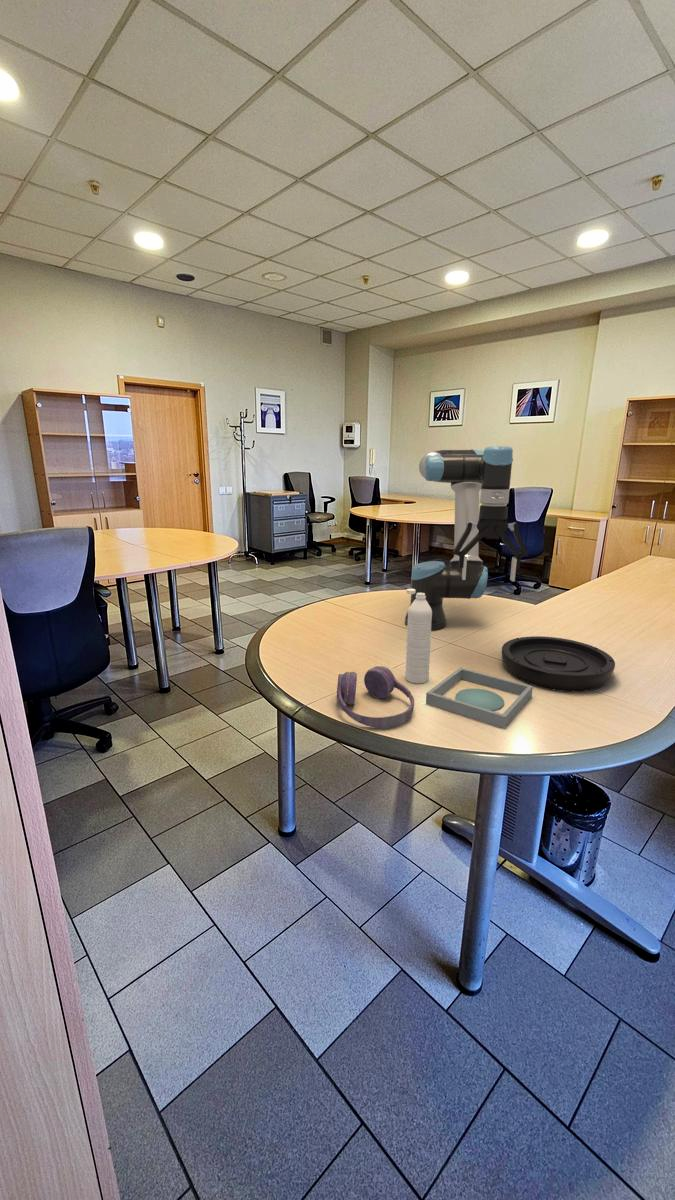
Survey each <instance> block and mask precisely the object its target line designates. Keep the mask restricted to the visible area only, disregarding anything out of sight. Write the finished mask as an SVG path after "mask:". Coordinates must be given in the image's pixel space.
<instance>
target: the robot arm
mask: <svg viewBox="0 0 675 1200" xmlns="http://www.w3.org/2000/svg"><path fill="white" fill-rule="evenodd" d="M513 451H514V450H513V447H512V446H504V445H503V446H501V445H499V446H486V447H485V448H484V450H482V449H474V448H472V449H440V450H435V451H432V452H429V453H427V454H425V455H423V457H422V458H421V459H420V461H419V464H418V466H419V467H418V468H419V472H420V475H421V476H422V477H423V478H424V479H425V481H427V482H435V483H446V484H447V483H449V484H450V490H452V491H453V492H454V496H455V497H454V534H453V537H454V539H453V540H454V542H453V543H454V544H453V545H454V548H453V549H452V550H453V557H452V558H451V559H450V561H449V565H446V564H445V562H444V561H441V560H439V561H438V560H432V561H431V560H430V561H423V562H420V563H417V564H415V565H414V566H413V567H412V570H411V577H410V580H411V585H410V587H411V588H410V589H415V590H416V593H415V594H410V603H409V607H410V605H411V604H412V603H413V602H414V600H415V599H416V597H415V596H416V594H417V593H425V596H426V597H425V599H426V601H427V602H428V604H429V606H430V607H431V609H432V619H431V620H432V622H431V631H439V630H442V629H444V628H445V627H446V626H447V618H446V614H445V610H444V607H443V602H444V601H443V600H444V599H467V600H470V599H479V598H480V599H481V598H482V597H483V595H484V594H485V591H486V587H487V584H488V583H487V582H488V576H489V573H488V572H489V571H488V569H489V568H488V567H487V566H485V565H483V563H484V561H483V560H482V559H481V558H480V556H479V549H480V547H479V546H480V545H479V542H480V541H481V540H482V539H483V538H484V539H487V540H490V539H494V540H498V539H499V538H501V540H502V541H503V542H504V544H505V545H506V546H507V547H508V549H509V550H510V551H511V553H512V554H513V555H514V556H512V558H511V567H510V576H509V580H510V581H511V582H515V581H516V573H517V570H519V569H521V560H522V558H524V557H528V556H529V552H528V551H527V548H526V547H527V546H526V545H525V543H524V540H523V537H522V536H521V534H520V531H519V529H520V527H519V523H517V522H516V521H514V522H510V523H509V522H508V510H509V506H507V505H508V504H509V500H510V486H511V478H512V467H513V466H512V465H513V461H514V457H513ZM480 504H481V505H480ZM508 528H509V530H510V532H512V534H513V536H514V538H515V541H516V542H517V545H518V547H519V550H520V551H519V550H517V548H516V547H515V546H514V544H513V543H512V542H511V541H510V539H509V538H508V537H507V535H506V534H505V532H506V531H507V530H508ZM409 607H408V608H409ZM404 624H405V626H406V627H407V625H408V611H407V612H406V615H405V618H404Z"/></svg>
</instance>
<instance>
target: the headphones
mask: <svg viewBox="0 0 675 1200" xmlns="http://www.w3.org/2000/svg"><path fill="white" fill-rule="evenodd" d="M357 677H358V673H357V672H355V671H345V672H344V673H343V674H342V673H339V674H338V676H337V678H338V679H337V686H336V687H337V688H336V699H337V702H338V704H339V708H341V710H342V711H343V712H344V713H345V714H346V715H347V716H348V717H350V718H351V719H352V720H353V721H355V722H357V723H359V724H361V725H364V726H366V727H369V728H374V729H382V730H383V729H391V728H396V727H398V726H399V727H400V726H402V725H403V724H406V723H407V722H408V721H409V720H410V719H411V716H412V715H413V712H414V708H415V698H414V695H413V694H412V692H411V691H410V689H408V687H406V686H405V685H404V684H403V683H401V682H400V681H398V680H397V679H396V677H395V675H394V674H393V672H392V671H391V670H390V668H389V667H387V666H382V665H381V666H373V667H372V668H369V669H368V670H367V671H366V672H365V674H364V679H363V680H364V681H363V682H364V685H365V688H366V690H367V691H368V693H369V694H370V695H371V696H372V697H374V698H377V699H385V698H387V697H389V696H390V694H392V692H393V691H394V690H395V689H397V690H399V691H400V692H401V693H402V694H404V695H405V696H406V697H407V698H408V699H409V702H410V703H409V704H410V706H409V707H408V709H406V710H405V711H403V712H401V713H398V714H397V713H396V714H394V715H388V716H383V717H381V716H380V717H378V716H377V717H375V716H366V715H362V714H359V713H356V712H355V711H352V710H351V709H349V708H348V707H347V705H350V706H351V705H355V702H356V694H357V693H356V692H357V681H358V679H357Z"/></svg>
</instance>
